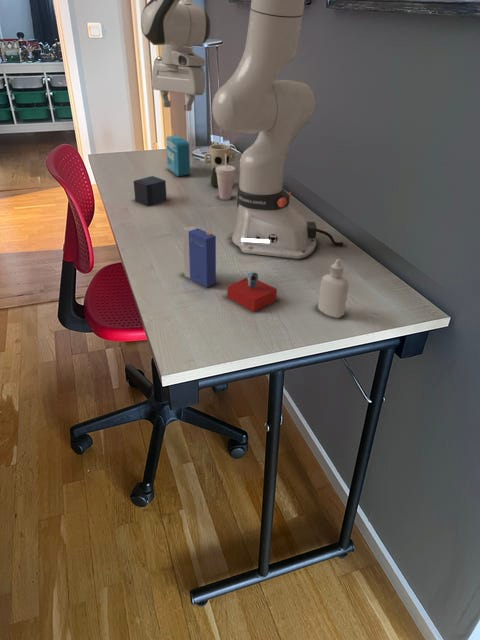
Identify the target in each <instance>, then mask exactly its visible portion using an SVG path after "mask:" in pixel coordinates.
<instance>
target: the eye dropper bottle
mask: <svg viewBox="0 0 480 640" xmlns="http://www.w3.org/2000/svg"><path fill="white" fill-rule="evenodd" d="M343 272H344V265H343V264H341V259H340V258H337V259H336V260H335V262H334V263H332V264H331V265H330V271H329V273H327V274H324V275H322V277H321V281H320V289H319V297H318V306H317V308H318V311H320V312H321V313H323V314H324V315H326V316H329V317H332V318H335V319H339V318H341V317H343V316H344V315H345V312H346V306H347V299H348V292H349V287H350V286H349V285H350V284H349V281H348V280H347V279H346V278H345V277H344V276H343V275H344V273H343Z"/></svg>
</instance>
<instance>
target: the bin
mask: <svg viewBox="0 0 480 640" xmlns="http://www.w3.org/2000/svg"><path fill="white" fill-rule="evenodd" d="M166 183H167V182H166V180H165V179H163V178H160V177H157V176H154V175H151V176H146V177H144V178H140V179H136V180H133V191H134V201H135V202H137V203H139V204H142V205H144V206H147V207H150V206H152V205H157V204H160V203H162V202H166V201H167V200H168V199H167V184H166Z"/></svg>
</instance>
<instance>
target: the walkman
mask: <svg viewBox="0 0 480 640" xmlns="http://www.w3.org/2000/svg"><path fill="white" fill-rule="evenodd" d="M182 232H183V233H182V234H183V237H182V238H183V265H184V266H183V268H184V269H183V270H184V277H186V278H188V279H190V280H192V281H194V282H196V283H198V284H200V285H201V286H204V287H205V288H209V287H211V286H214V285H215V284H217V267H216V266H217V242H216V241H217V239H216V238H217V236H216V235H214V234H213V233H212V232H210V231H205V230H203V229H201V228H198V227H197V226H193V225H191V226H189V227H188V226H187V227H184V228H182Z"/></svg>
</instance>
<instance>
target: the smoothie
mask: <svg viewBox="0 0 480 640" xmlns="http://www.w3.org/2000/svg"><path fill="white" fill-rule="evenodd" d="M215 171H216V172H217V181H218V186H217V188H218V197H219V199H220V200H223V201H226V200H227V201H229V200H231V198H232V194H233V193H232V192H233V185H234V178H235V173H236V167H235V166H233V165H230V166H229V165H227V153H225V165H221V166H217V167H216V170H215Z"/></svg>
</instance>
